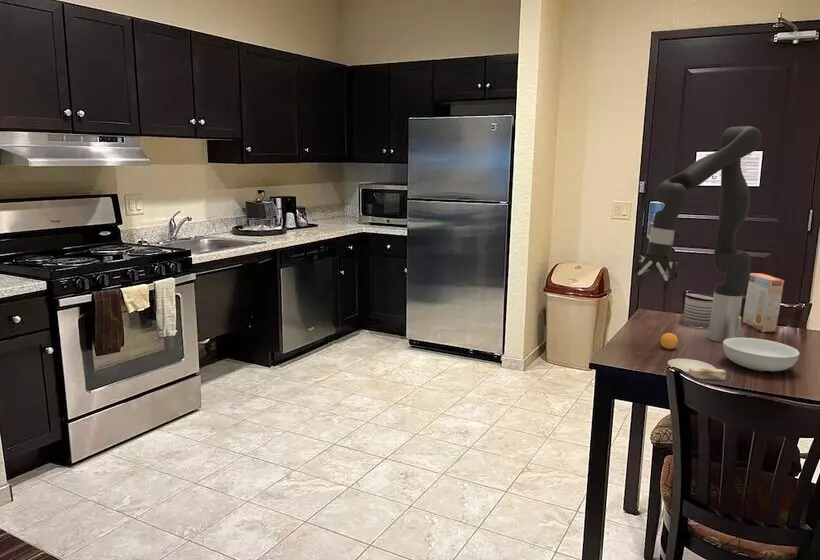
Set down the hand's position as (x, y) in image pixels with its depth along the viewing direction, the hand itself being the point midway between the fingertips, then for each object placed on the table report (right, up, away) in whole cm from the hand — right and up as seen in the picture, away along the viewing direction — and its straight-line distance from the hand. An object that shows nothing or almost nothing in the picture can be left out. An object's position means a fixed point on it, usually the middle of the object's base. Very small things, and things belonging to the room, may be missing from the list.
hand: (651, 288), depth 206 cm
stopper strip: (+5, -26, -28) cm, 38 cm away
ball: (+6, -18, -1) cm, 19 cm away
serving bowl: (+27, -25, -16) cm, 40 cm away
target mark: (+5, -24, -18) cm, 31 cm away
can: (+31, -15, +32) cm, 47 cm away
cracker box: (+54, -16, +30) cm, 64 cm away
